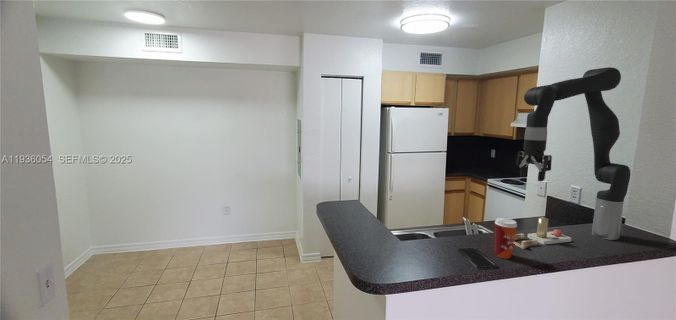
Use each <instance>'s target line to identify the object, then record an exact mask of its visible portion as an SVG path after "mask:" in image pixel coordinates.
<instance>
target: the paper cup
mask: <svg viewBox="0 0 676 320" xmlns="http://www.w3.org/2000/svg"><path fill="white" fill-rule="evenodd" d="M494 224H495V228H494V229H495V230H494V231H495V232H494V235H495V236H494V255H495V256H496V257H497V258H500V259H505V260H506V259H507V260H509V259H511V258H512V255H513V249H514V239H515V234H517V233H516V232H517V227H518V224H517V221H516V220H514V219H511V218H507V217H497V218H496V219H495V221H494Z"/></svg>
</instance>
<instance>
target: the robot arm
mask: <svg viewBox="0 0 676 320" xmlns="http://www.w3.org/2000/svg"><path fill="white" fill-rule="evenodd" d="M582 75H583V76H582V77H577V78H571V79H565V80H561V81H557V82H555V83H551V84H547V85H541V86H534V87H531V88H529V89H528V90H527V91H525V93H524V95H523V100H524V102H525V103H526V105H529V106H531V107H535V106H536V108H535V111H532V112H529V113H528V114H527V115H526V125H525V131H524V137H523V139H524V140H523V148H522V149H523V151H521V150H519V151H517V156H516V162H515V165H516V166H518V167H519V177H521V178H525V177H527V167H528V166H529V165H530V164H531V165H534V166H535V167H536V168H537V170H538V173H537V174H538V175H537V182H544V181H545V179H546V172H550V171H552V160H553V156H552V155H550V154H549V155H548V154H545V151H546V150H547V149H546V148H547V142H548V139H547V138H548V124H549V123H548V121H549V116H550V114H551V111H552V108H553V106H554V104H555V102H557V101H562V100H566V99H569V98H572V97H576V96H579V95H583V94H584V97H585V101H586V107H587V109H588V117H589V123H590V124H589V125H590V133H591V138H592V146H593V163H594V164H593V166H594V167H593V168H594V175H595V179H596V180H597V181H598V182H599V183H604V184H609V185H610V187H609V189H605V190H604V189H603V190H598V191H597V193H596V198H595V206H594V212H593V220H592V228H591V235H592V236H595V237H598V238H601V239H603V240H608V241H609V240H610V241H617V240H619V239H620V236H621V230H622V223H623V216H622V215H623V210H624V209H623V208H624V202H625V198H626V195H627V193H628V189H629V185H630V180H631V169H630V167H629V166H628V165H625V164H620V163H613V162H611V158H610V152H611V150H612V148H613V147H614V145H615V144H616V142H617V141H618V139H619V137H620V135H621V134H620V133H621V131H620V124H619V123H620V122H619V121H620V120H619V118H618V117H617V115H616V114H615V112H613V110H612V108H610V107H609V106H608V104H607V103H606V102H605V99H604V98H603V94H602V92H607V91H612V90H614V89H616V87H618V86H619V85H620V83H621V80H622V75H621V72H620V70H619V69H618V68H616V67H609V66H608V67H600V68H593V69H589V70H587V71H585V72H584V73H583V74H582Z"/></svg>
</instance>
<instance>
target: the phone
mask: <svg viewBox="0 0 676 320" xmlns="http://www.w3.org/2000/svg"><path fill="white" fill-rule="evenodd" d="M458 252H459V253H460V255H461V256H463V258H465V259H466V260H467V261H468V262H469V263H470V264H471V265H473V267H474V268H476V269H479V270H481V269H485V270H486V269H487V270H488V269H497V268H498V264H497V263H495V262H494V261H492V259H490V258H489V257H488V256H486V255H485V254H484V253H482V252H481V251H480V250H479V249H478V248H474V247H471V248H458Z"/></svg>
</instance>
